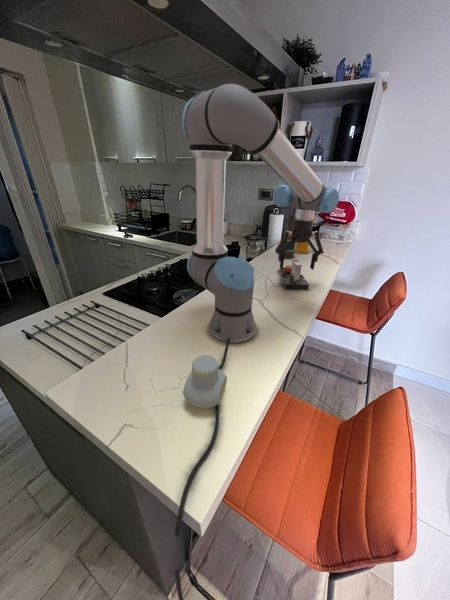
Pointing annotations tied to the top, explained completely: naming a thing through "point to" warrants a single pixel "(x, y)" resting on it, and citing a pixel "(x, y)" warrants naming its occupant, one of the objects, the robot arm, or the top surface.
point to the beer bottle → (290, 251)
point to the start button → (288, 268)
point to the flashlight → (303, 246)
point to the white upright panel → (295, 270)
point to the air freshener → (205, 383)
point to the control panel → (294, 283)
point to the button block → (284, 271)
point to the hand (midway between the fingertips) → (296, 268)
